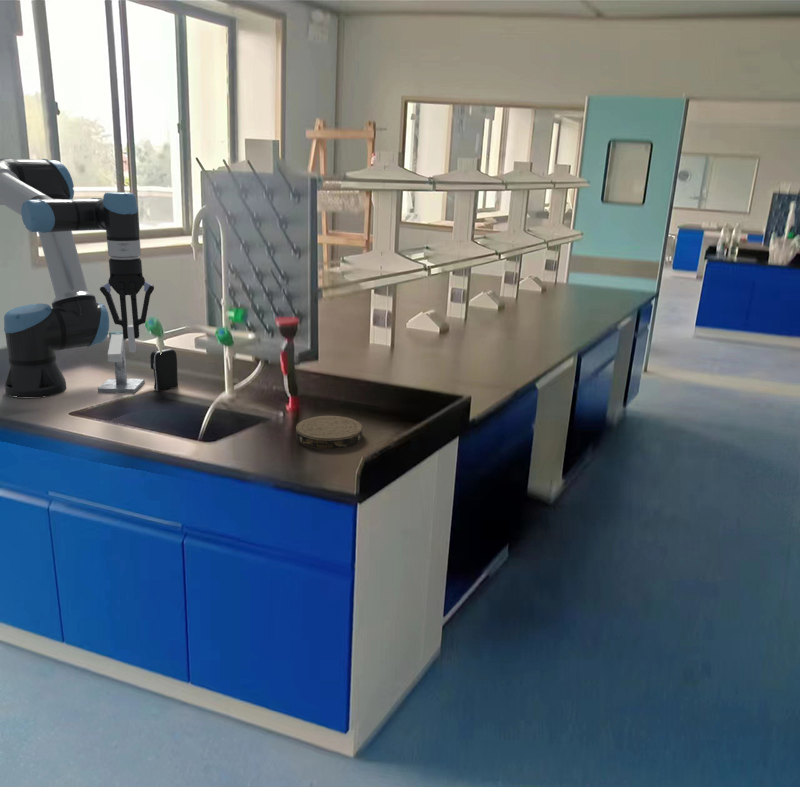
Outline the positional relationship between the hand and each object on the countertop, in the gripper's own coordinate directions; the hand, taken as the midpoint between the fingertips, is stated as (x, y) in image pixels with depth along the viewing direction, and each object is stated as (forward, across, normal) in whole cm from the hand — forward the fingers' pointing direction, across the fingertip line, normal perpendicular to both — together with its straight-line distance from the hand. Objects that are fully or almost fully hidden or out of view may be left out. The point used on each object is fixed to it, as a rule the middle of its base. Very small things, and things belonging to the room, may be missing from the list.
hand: (132, 350), depth 187 cm
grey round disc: (+17, +45, -30) cm, 56 cm away
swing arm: (+2, -4, +9) cm, 11 cm away
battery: (+16, +7, +18) cm, 25 cm away
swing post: (+16, -5, +20) cm, 26 cm away
